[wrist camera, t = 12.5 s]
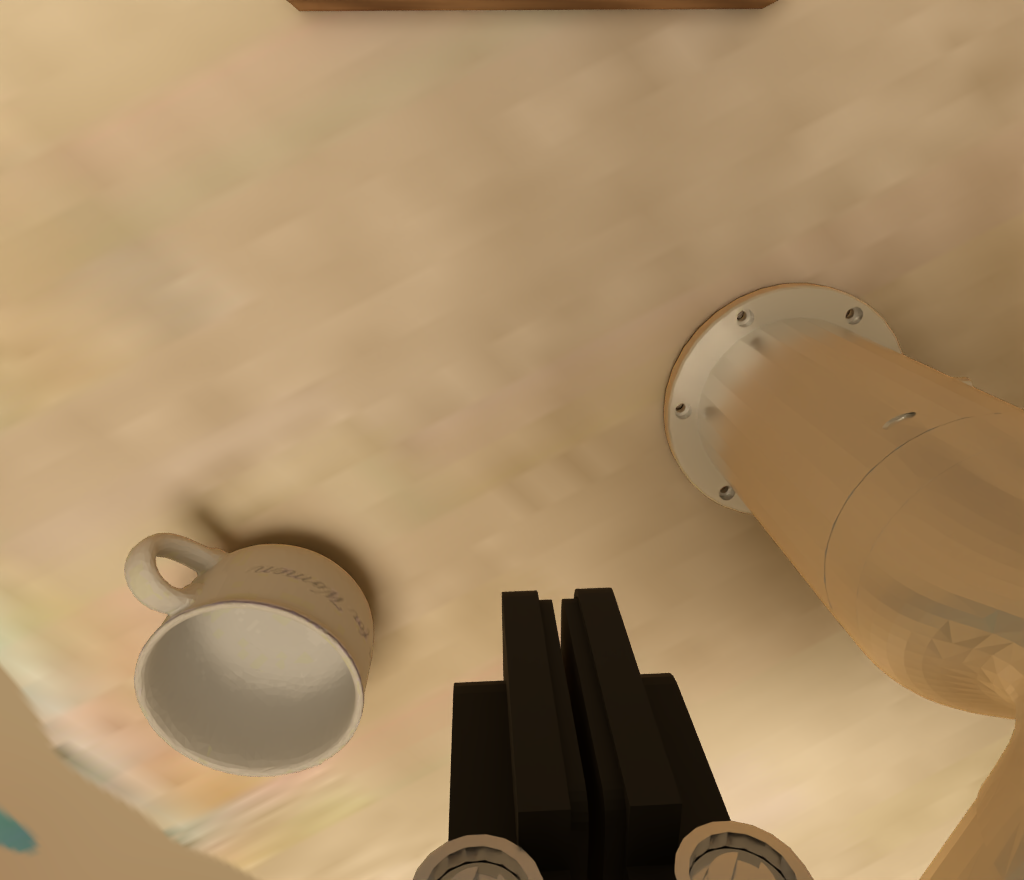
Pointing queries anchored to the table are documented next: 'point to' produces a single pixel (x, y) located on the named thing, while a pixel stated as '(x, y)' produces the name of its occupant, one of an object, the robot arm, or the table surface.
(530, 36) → the table surface
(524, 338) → the table surface
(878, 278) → the table surface
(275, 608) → the teacup
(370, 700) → the table surface
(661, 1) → the wooden u-shaped wall
